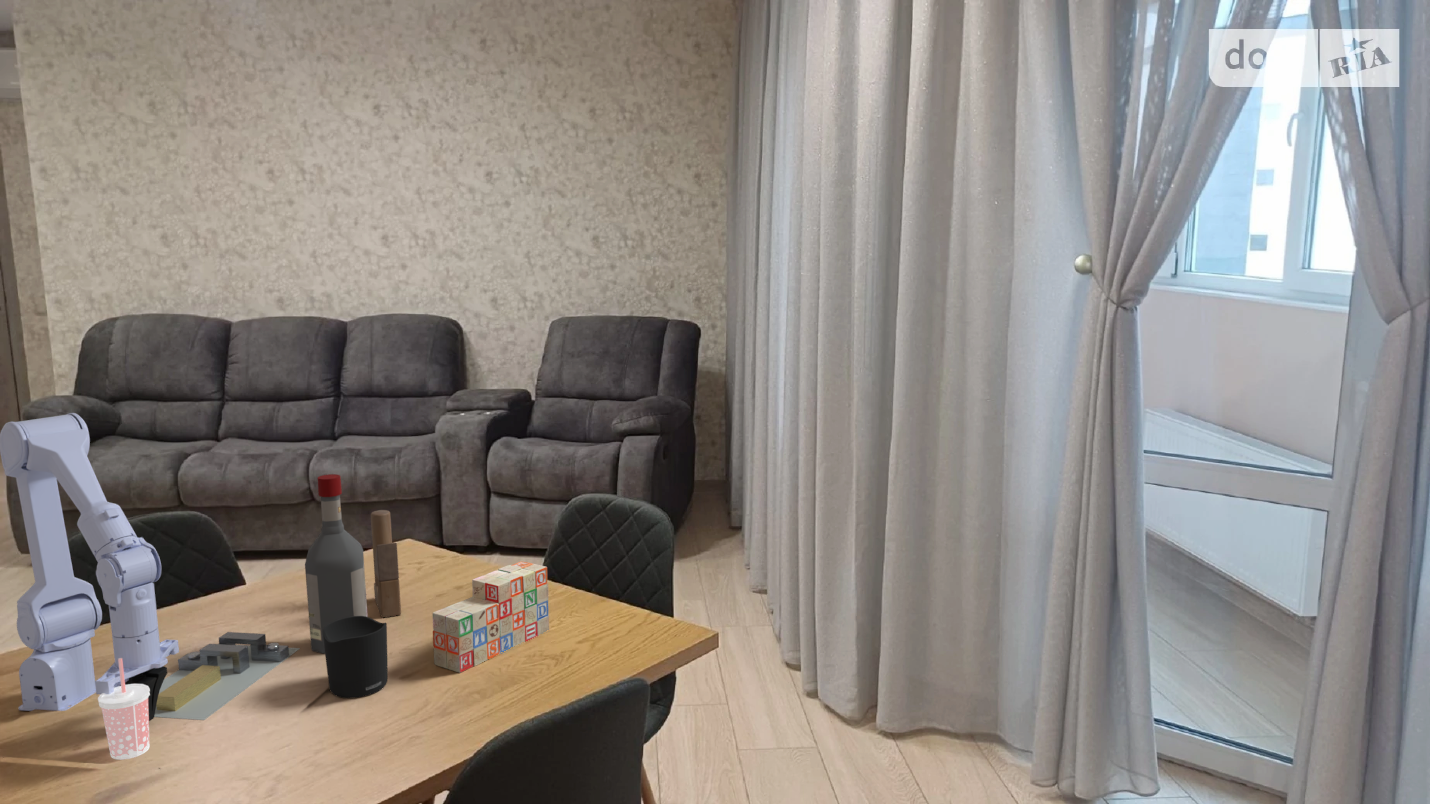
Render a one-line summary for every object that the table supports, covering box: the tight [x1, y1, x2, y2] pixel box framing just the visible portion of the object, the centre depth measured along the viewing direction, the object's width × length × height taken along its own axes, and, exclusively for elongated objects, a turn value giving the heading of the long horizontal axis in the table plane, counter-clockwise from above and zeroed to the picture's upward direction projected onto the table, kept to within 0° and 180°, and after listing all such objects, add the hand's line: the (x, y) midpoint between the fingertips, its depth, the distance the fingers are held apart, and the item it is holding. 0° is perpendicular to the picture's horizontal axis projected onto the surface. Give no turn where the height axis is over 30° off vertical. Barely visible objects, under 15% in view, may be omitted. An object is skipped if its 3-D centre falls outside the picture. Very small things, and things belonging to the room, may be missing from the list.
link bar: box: [156, 665, 221, 711], centre depth 156 cm, size 11×3×2 cm, turn 172°
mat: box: [154, 644, 301, 721], centre depth 161 cm, size 26×15×1 cm, turn 172°
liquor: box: [304, 473, 369, 655], centre depth 173 cm, size 9×9×30 cm
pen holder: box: [323, 616, 389, 699], centre depth 159 cm, size 9×9×10 cm
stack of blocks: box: [432, 560, 550, 673], centre depth 173 cm, size 21×6×12 cm, turn 147°
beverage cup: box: [97, 658, 151, 761], centre depth 138 cm, size 6×6×14 cm
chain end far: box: [218, 631, 290, 663], centre depth 169 cm, size 2×11×4 cm, turn 82°
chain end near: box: [177, 643, 250, 674], centre depth 164 cm, size 2×11×4 cm, turn 82°
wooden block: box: [370, 509, 402, 618], centre depth 192 cm, size 4×11×18 cm, turn 25°
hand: (144, 719), depth 146 cm, fingers closed
